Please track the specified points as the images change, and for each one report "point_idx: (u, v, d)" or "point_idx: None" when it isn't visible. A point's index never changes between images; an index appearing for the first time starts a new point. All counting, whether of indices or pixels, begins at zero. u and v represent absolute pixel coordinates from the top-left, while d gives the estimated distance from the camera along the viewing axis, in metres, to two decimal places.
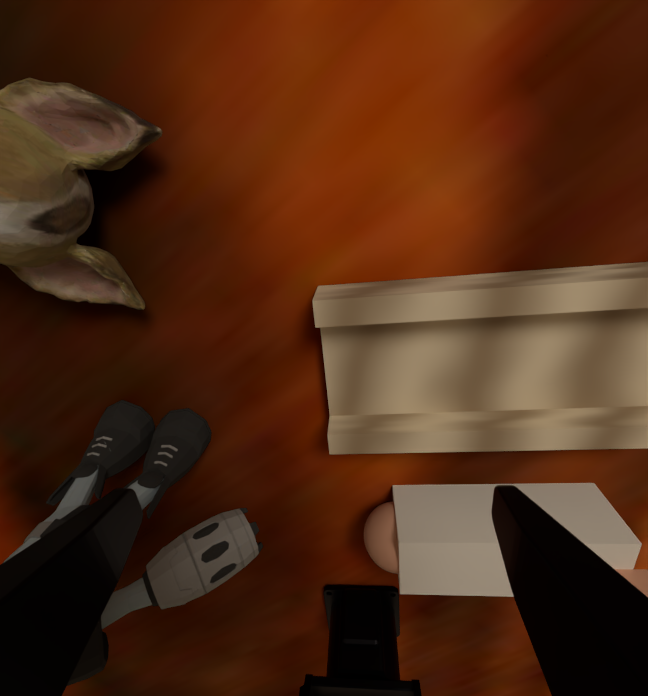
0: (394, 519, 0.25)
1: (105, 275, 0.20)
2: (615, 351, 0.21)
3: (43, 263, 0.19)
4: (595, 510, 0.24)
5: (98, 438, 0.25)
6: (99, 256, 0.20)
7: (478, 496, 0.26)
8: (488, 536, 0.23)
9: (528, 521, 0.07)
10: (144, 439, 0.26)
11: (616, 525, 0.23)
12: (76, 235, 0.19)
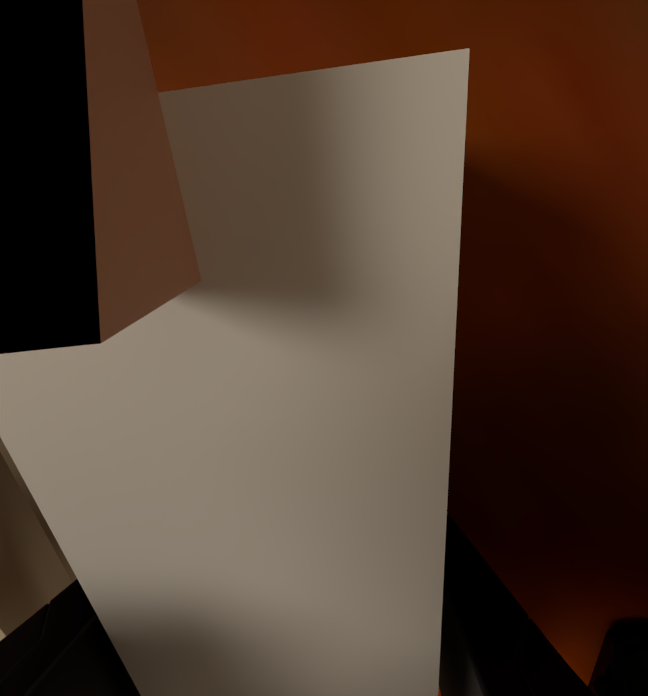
0: None
1: None
2: None
3: None
4: None
5: None
6: None
7: None
8: None
9: None
10: None
11: None
12: None
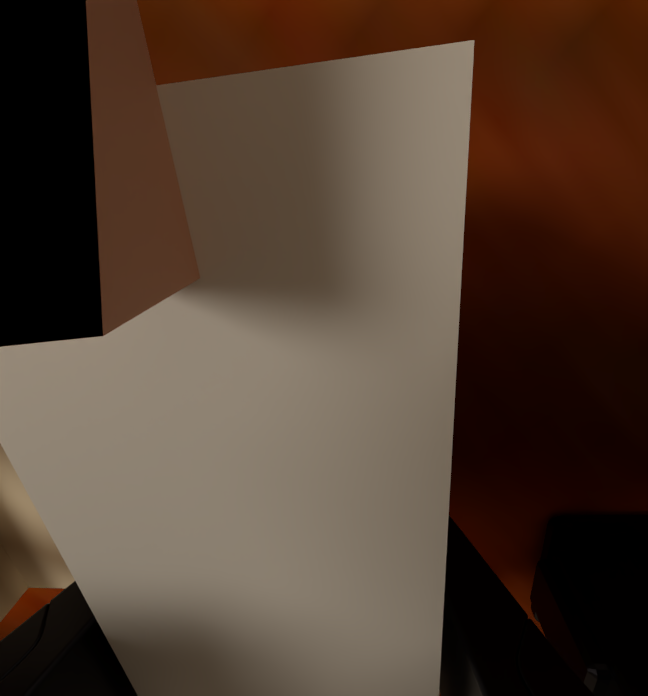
0: None
1: None
2: None
3: None
4: None
5: None
6: None
7: None
8: None
9: None
10: None
11: None
12: None
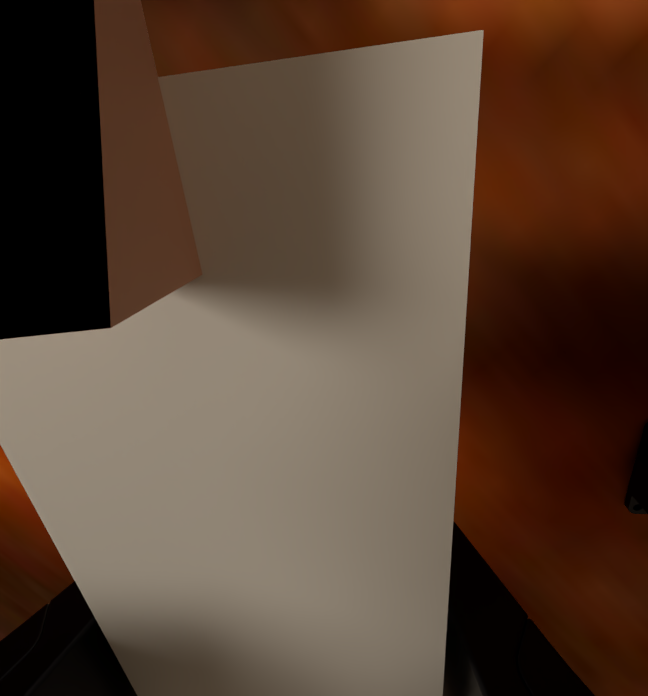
0: None
1: None
2: None
3: None
4: None
5: None
6: None
7: None
8: None
9: None
10: None
11: None
12: None
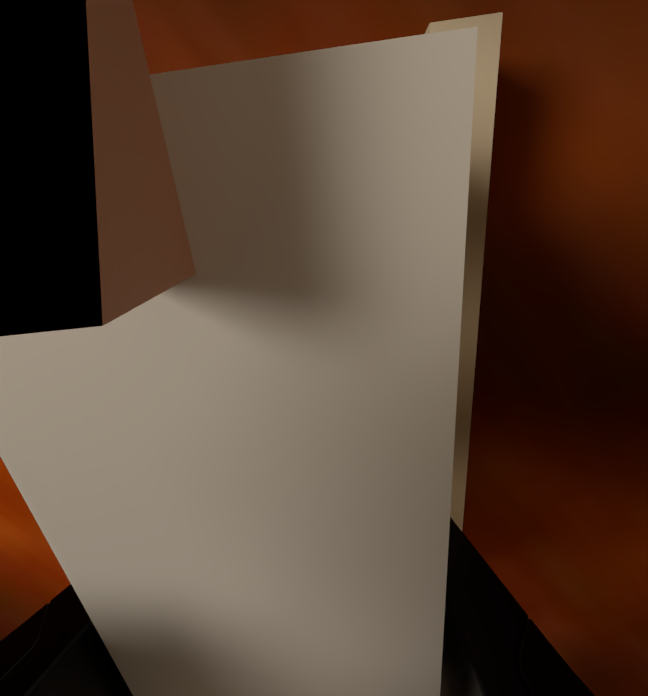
0: None
1: None
2: None
3: None
4: None
5: None
6: None
7: None
8: None
9: None
10: None
11: None
12: None
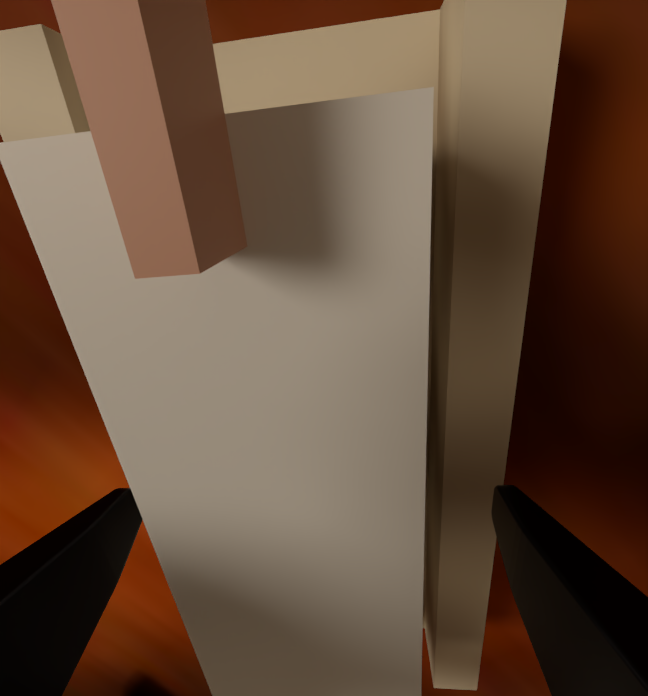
0: None
1: None
2: None
3: None
4: None
5: None
6: None
7: None
8: None
9: (528, 521, 0.07)
10: None
11: None
12: None
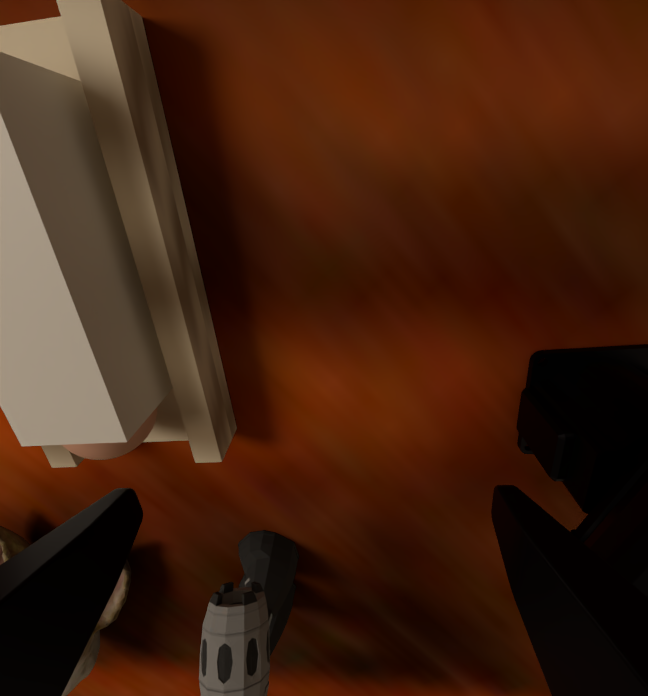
0: None
1: None
2: None
3: None
4: None
5: None
6: None
7: None
8: None
9: (528, 521, 0.07)
10: None
11: None
12: None
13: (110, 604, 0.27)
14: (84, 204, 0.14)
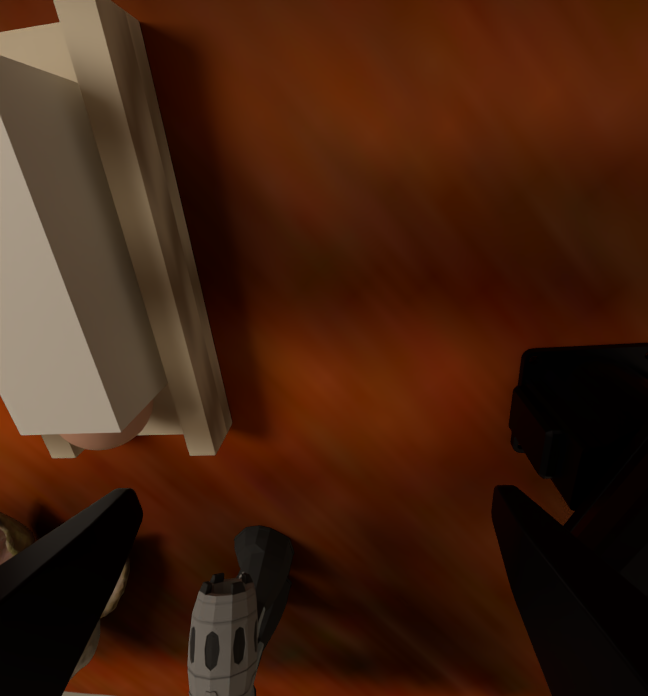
0: None
1: None
2: None
3: None
4: None
5: None
6: None
7: None
8: None
9: (528, 521, 0.07)
10: None
11: None
12: None
13: None
14: (81, 201, 0.15)
